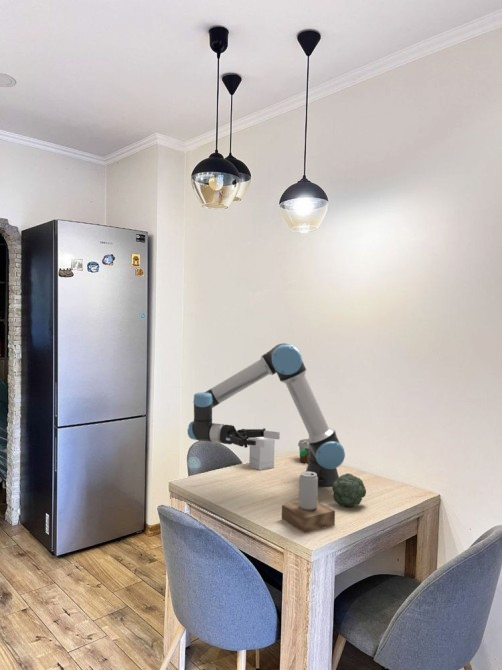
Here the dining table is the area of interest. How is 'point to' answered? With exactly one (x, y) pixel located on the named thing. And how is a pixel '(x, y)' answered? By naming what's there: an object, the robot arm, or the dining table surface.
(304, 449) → the food container
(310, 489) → the beverage can
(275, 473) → the dining table surface
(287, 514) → the walnut block
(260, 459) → the supplement box
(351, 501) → the vegetable
